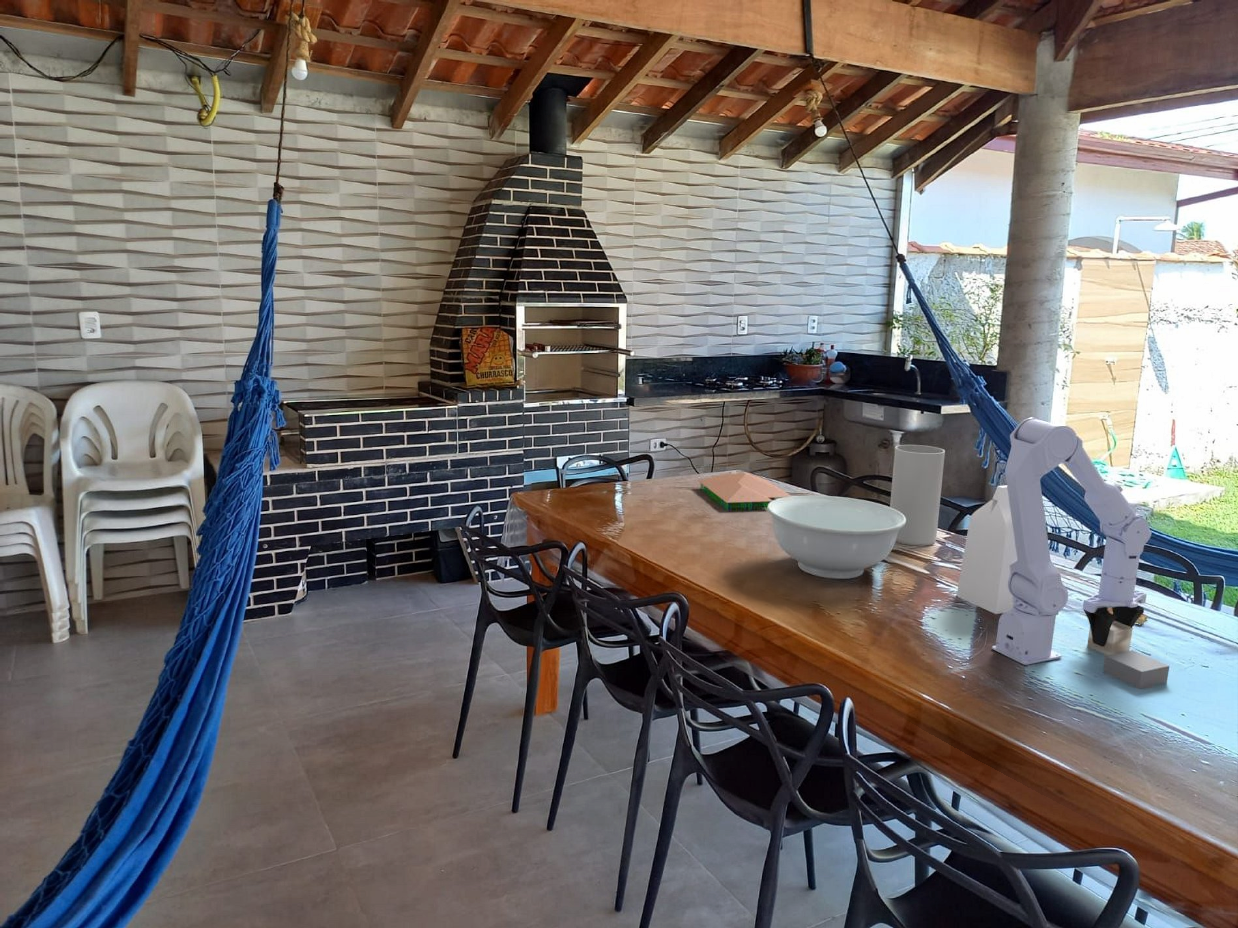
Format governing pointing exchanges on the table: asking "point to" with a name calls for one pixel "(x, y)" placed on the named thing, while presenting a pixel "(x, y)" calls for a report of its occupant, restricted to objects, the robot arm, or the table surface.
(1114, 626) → the cream cube
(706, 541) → the table surface
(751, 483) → the house
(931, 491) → the cylinder vase
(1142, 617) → the shard
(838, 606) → the table surface
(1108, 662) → the gray base block
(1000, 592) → the milk
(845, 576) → the bowl
